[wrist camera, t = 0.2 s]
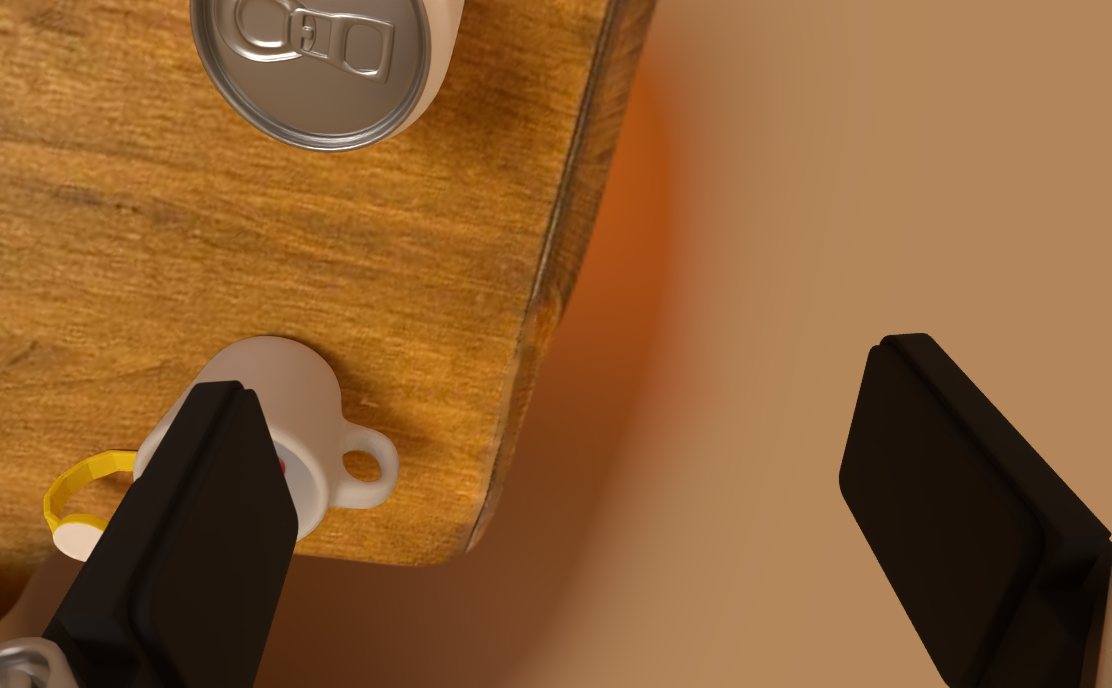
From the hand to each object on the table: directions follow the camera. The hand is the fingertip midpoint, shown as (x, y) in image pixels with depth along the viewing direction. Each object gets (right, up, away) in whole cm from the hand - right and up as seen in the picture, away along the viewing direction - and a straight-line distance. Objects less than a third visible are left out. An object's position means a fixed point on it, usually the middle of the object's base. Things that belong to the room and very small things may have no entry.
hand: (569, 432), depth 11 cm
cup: (-13, -1, +26) cm, 30 cm away
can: (-7, +15, +16) cm, 23 cm away
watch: (-23, -5, +28) cm, 37 cm away
